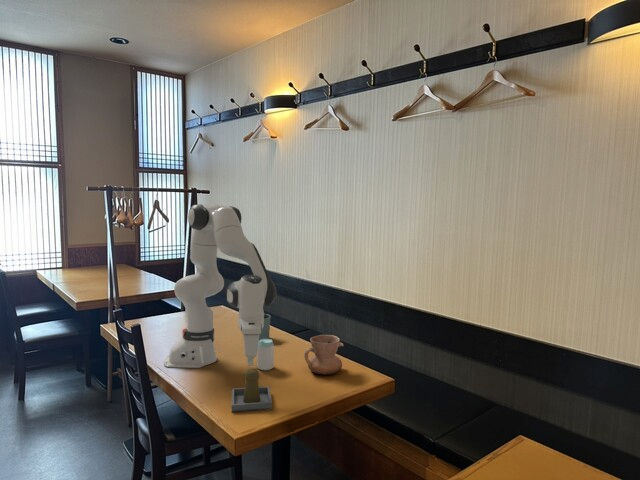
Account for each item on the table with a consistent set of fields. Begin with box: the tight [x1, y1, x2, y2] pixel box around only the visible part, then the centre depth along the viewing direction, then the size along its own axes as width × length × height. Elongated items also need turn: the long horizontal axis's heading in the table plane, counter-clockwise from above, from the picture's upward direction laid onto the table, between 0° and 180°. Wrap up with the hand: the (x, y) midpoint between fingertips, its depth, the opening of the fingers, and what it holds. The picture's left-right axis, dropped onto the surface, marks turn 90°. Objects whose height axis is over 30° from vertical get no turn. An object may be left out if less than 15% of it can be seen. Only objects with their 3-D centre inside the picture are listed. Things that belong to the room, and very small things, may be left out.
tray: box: [231, 386, 273, 413], centre depth 158 cm, size 14×14×2 cm
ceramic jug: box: [304, 334, 344, 376], centre depth 188 cm, size 18×14×14 cm
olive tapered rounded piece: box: [243, 368, 260, 403], centre depth 158 cm, size 6×6×11 cm
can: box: [256, 338, 275, 371], centre depth 191 cm, size 7×7×12 cm
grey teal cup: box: [259, 313, 272, 340], centre depth 231 cm, size 10×10×12 cm
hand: (250, 360), depth 157 cm, fingers open, 8 cm apart
